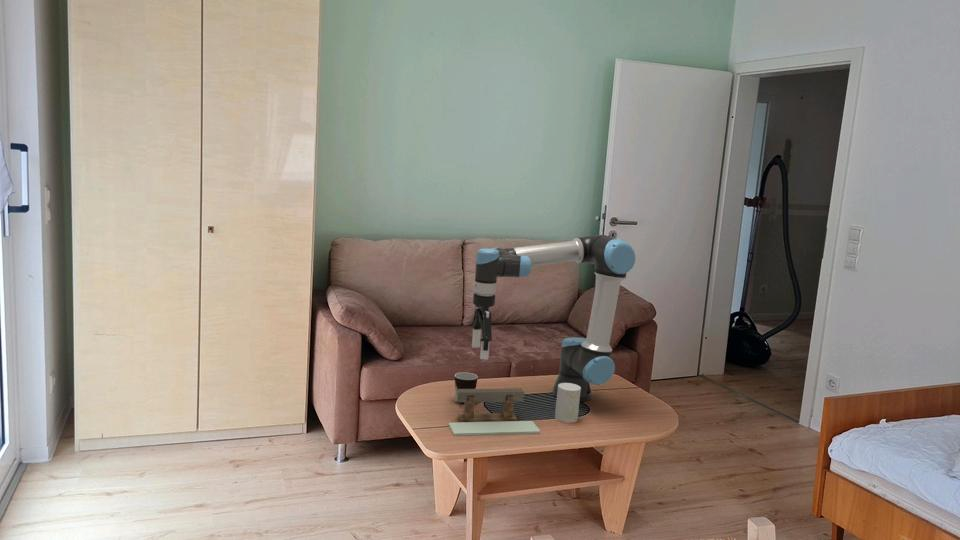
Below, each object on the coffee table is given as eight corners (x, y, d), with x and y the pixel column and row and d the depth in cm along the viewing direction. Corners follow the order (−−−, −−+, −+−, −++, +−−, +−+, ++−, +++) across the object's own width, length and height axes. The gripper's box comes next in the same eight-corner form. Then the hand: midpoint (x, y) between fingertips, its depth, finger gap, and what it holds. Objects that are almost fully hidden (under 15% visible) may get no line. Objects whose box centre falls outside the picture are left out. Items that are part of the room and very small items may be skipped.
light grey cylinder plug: (562, 424, 257) (566, 391, 255) (550, 415, 264) (553, 383, 262) (581, 421, 261) (585, 389, 259) (569, 413, 268) (572, 382, 266)
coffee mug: (473, 407, 266) (475, 381, 264) (450, 404, 267) (452, 378, 266) (479, 396, 277) (481, 371, 275) (457, 393, 279) (459, 368, 277)
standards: (512, 415, 261) (514, 391, 260) (517, 421, 256) (519, 397, 254) (458, 416, 256) (459, 391, 255) (461, 422, 251) (463, 397, 249)
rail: (520, 397, 260) (521, 388, 259) (523, 401, 256) (524, 391, 256) (454, 398, 254) (455, 389, 253) (456, 402, 250) (457, 392, 250)
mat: (532, 423, 256) (532, 420, 255) (540, 433, 247) (540, 431, 247) (448, 424, 248) (448, 422, 248) (453, 435, 240) (454, 433, 239)
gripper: (466, 285, 262) (462, 342, 266) (481, 301, 238) (476, 364, 242) (487, 286, 263) (482, 342, 267) (504, 302, 240) (498, 364, 243)
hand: (479, 353), depth 254 cm, fingers open, 13 cm apart
